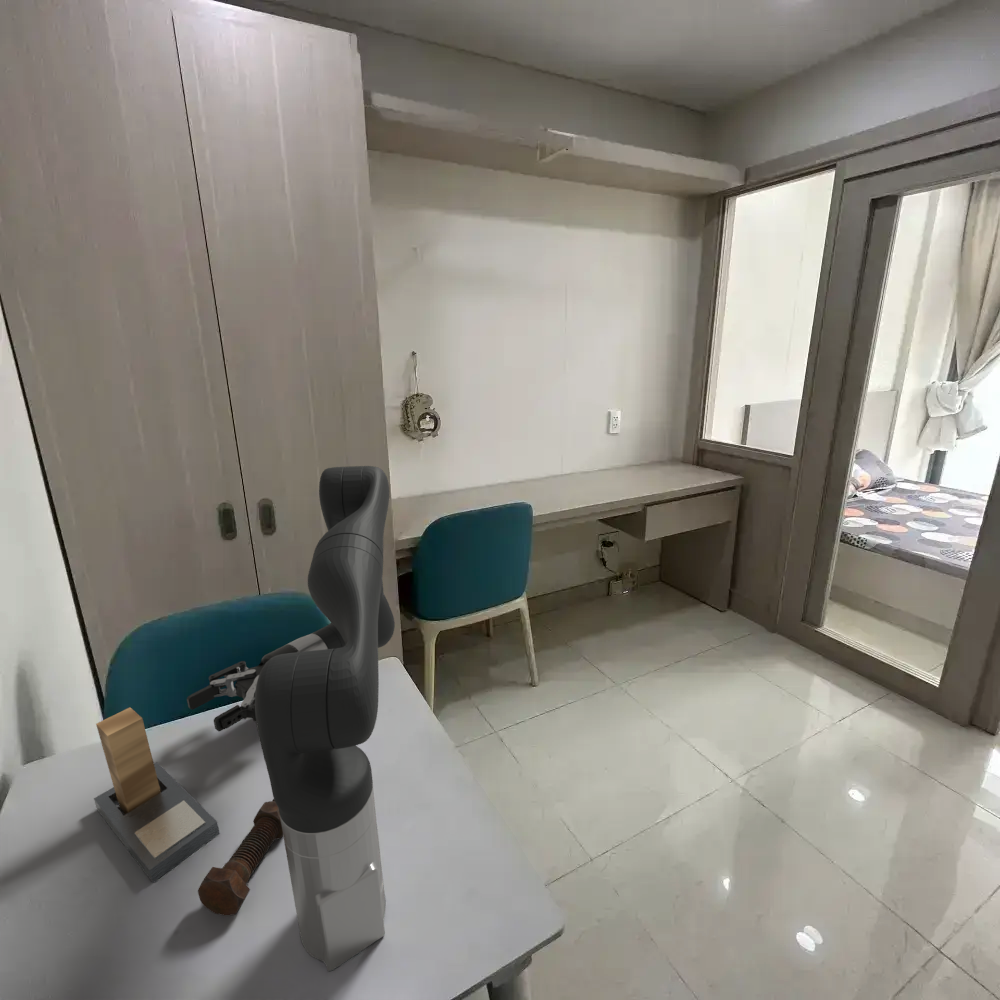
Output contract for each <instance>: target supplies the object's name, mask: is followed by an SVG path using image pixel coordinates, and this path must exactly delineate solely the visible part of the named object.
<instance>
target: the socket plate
mask: <svg viewBox="0 0 1000 1000" xmlns="http://www.w3.org/2000/svg"><path fill="white" fill-rule="evenodd" d="M154 767H155V771H156V775H157V779H158V783H159V787H160V791H161V793H160V794H158V795H156V796H155V797H153V798H151V799H150V800H148V801H147V802H145V803H143V804H142V805H140V806H139V807H137V808H135V809H134V810H132V811H131V812H129V813H127V814H124V813H123V812H122V811H121V810H120V809H119V808H118V805H119V803H118V800H117V796H116V793H115V789H114V786H113V787H111V788H110V789H108V790H106V791H104V792H103V793H101V794H99V795H97V796H96V797H94V798H93V801H94V804H95V808H96V810H97V812H98V813H99V814H100V816H101V817H102V818H103V820H104V821H105V822H106V823H107V825H108V826H109V827H110V829H111V830H112V831H113V833H114V834H115V835H116V837H117V838H118V839H119V840H120V842H121V843H122V845H123V846H124V847H125V848H126V850H127V851H128V852H129V854H130V855H131V856H132V858H133V859H134V860H135V862H136V863H137V864H138V865H139V867H140V868H141V869H142V871H143V872H144V873H145V875H146V876H147V877H148V878H149V879H150V882H151V883H155V882H156V881H158V879H160V878H162V877H163V876H164V875H166V874H167V873H168V872H170V871H171V870H172V869H174V868H175V867H177V866H178V865H179V864H181V863H182V862H183V861H184V860H186V859H187V858H188V857H190V856H191V855H193V854H194V853H195V852H196V851H198V850H199V849H201V848H202V847H203V846H205V845H206V844H207V843H210V841H212V840H213V839H214V838H215V837H217V836H218V835H220V834H221V833H220V828H219V824H218V820H216V819H215V818H214V817H213V816H212V815H211V814H210V813H209V812H208V811H207V810H206V809H205V808H204V807H203V806H202V805H201V804H200V803H199V802H198V801H197V800H196V799H195V798H194V797H193V796H192V795H191V794H190V793H189V792H188V791H187V790H186V789H185V788H184V787H183V786H182V785H181V784H180V783H179V782H178V781H177V780H176V779H174V777H173V776H172V775H171V774H170V773H169V772H168V771H167V770H166V769H165V768H164V767H163V766H162V765H161V764H159V762H158V761H156V762H155V763H154Z"/></svg>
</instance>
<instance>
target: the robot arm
mask: <svg viewBox="0 0 1000 1000" xmlns="http://www.w3.org/2000/svg"><path fill="white" fill-rule="evenodd" d="M318 496H319V497H318V498H319V505H320V510H321V513H322V517H323V519H324V524H325V525H326V528H327V531H326V532H325V533H324V534H323V536H322V537H321V538H320V539H319V540H318V542H317V544H316V546H315V548H314V551H313V555H312V558H311V562H310V567H309V571H308V573H307V574H308V575H307V589H308V591H309V595H310V597H311V599H312V600H313V602H314V604H315V605H316V607H317V608H318V609H319V610H320V612H321V613H322V614H323V615H324V616H325V617H326V619H328V621H329V622H330V623H329V624H327V625H326V626H323V627H322V628H319V629H318V630H316V631H314V632H312V633H310V634H307V635H304V636H301V637H299V638H296V639H295V640H293V641H290V642H289V643H287V644H285V645H283V646H280V647H278V648H276V649H275V650H273V651H271V652H269V653H267V654H265V655H264V656H262V658H261V661H260V663H259V664H258V665H257V666H254V667H253V666H252V667H250V668H249V667H247V664H246V663H247V662H246V660H241V661H238V662H236V663H234V664H233V665H231V666H228V667H225V668H224V669H221V670H219V671H217V672H215V673H213V674H210V675H209V676H208V680H209V685H207V686H205V687H204V688H201V689H199V690H197V691H195V692H193V693H191V694H190V695H188V696H187V697H186V703H187V707H188V708H189V709H190V710H195V709H197V708H199V707H201V706H202V705H205V704H207V703H209V702H210V701H213V700H214V699H215V698H218V697H223V696H228V697H229V698H230V697H231V698H233V697H239V698H242V699H243V700H242V702H241V704H240V705H238V704H237V705H234V706H233V707H231V708H229V709H228V710H225V711H224V712H222V713H220V714H218V715H216V716H215V717H214V719H213V725H214V729H215V730H216V731H218V732H222V731H223V730H226V729H228V728H230V727H232V726H233V725H235V724H238V723H239V722H240V721H242V720H246V721H247V720H249V719H253V720H252V721H253V722H255V723H256V730H257V734H258V738H259V743H260V747H261V751H262V755H263V759H264V762H265V766H266V769H267V773H268V778H269V782H270V788H271V792H272V797H273V799H274V800H275V803H276V805H277V806H278V808H279V813H280V819H281V824H282V830H283V836H282V837H283V841H284V842H283V843H284V847H285V853H286V859H287V865H288V871H289V877H290V882H291V888H292V889H291V890H292V895H293V901H294V906H295V912H296V916H297V917H296V918H297V923H298V929H299V934H300V940H301V943H302V945H303V947H304V949H305V950H306V952H307V953H308V954H309V955H310V956H312V957H313V958H314V959H316V960H319V961H321V962H323V963H324V964H325V965H326V969H327V971H328V972H331V971H333V970H334V969H337V967H340V966H341V965H342V964H344V963H345V962H347V961H349V960H350V959H351V958H352V957H354V956H356V955H358V954H359V953H360V952H362V951H363V950H364V949H367V947H369V946H371V945H372V944H374V943H375V942H377V941H378V940H380V939H381V938H383V937H384V936H385V934H386V930H385V921H384V919H385V915H386V895H385V884H384V876H383V868H382V867H383V866H382V859H381V849H380V839H379V831H378V830H379V829H378V823H377V813H376V802H375V800H376V799H375V793H374V784H373V783H374V782H373V772H372V766H371V761H370V760H369V759H370V758H369V757H368V756H367V754H366V752H365V751H363V749H362V748H360V747H359V745H361V744H364V743H365V742H366V741H368V740H369V739H370V737H371V736H372V734H373V731H374V729H375V726H376V722H377V720H378V719H377V717H378V712H379V711H378V710H379V684H380V683H379V680H380V679H379V648H382V647H384V646H385V645H387V644H388V643H389V642H390V641H391V639H392V637H393V635H394V632H395V625H396V623H395V617H394V614H393V611H392V609H391V606H390V604H389V601H388V599H387V597H386V595H385V593H384V583H383V575H384V574H383V573H384V572H383V571H384V532H385V525H386V521H387V516H388V511H389V503H390V483H389V480H388V477H387V474H386V473H385V471H384V470H383V469H382V468H380V467H379V466H374V465H356V466H355V465H352V466H333V467H326V468H325V469H324V470H323V471H322V473H321V476H320V477H319V485H318ZM223 677H224V678H223ZM234 683H235V684H234ZM225 687H226V688H225Z"/></svg>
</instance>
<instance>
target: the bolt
mask: <svg viewBox="0 0 1000 1000" xmlns="http://www.w3.org/2000/svg"><path fill="white" fill-rule="evenodd" d="M282 837H283V830H282V824H281V819H280V813H279V808H278V806H277V805H276V803H275V800H274V798H273V799H272V801H271V800H270V801H265V802H263V804H262V805H261V806H260V808H259V810H258V811H257V813H256V815H255V816H254V818H253V826H252V827H251V829H250V830H249V832H248V833H247V835H246V837H244V839H243V840H242V842H241V843H240V844H239V846H238V848H236V849H235V851H234V852H233V854H232V855H231V857H230V858H229V860H228V861H227V862H225V863H224V866H223V867H222V868H221V867H216V866H212V867H211V868H210V870H209V871H208V872H207V874H206V875H205V876H204V878H203V880H202V881H201V884H200V885H199V887H198V890H197V895H198V898H199V900H200V903H201V904H202V905H203V907H205V908H206V909H207V910H209V911H210V912H212V913H213V914H216V915H221V916H227V917H228V916H233V915H236V914H237V913H238V911H239V910H240V908H241V907H242V905H243V903H244V902H245V900H246V898H247V896H248V895H249V893H250V891H251V889H250V887H249V886H248V885H247V883H248V882H249V880H250V877H251V876H252V875H253V872H255V869H257V867H258V866H259V864H260V862H261V860H262V859H263V858H264V856H265V855H266V853H267V851H269V849H270V848H271V845H272V844H273V843H274V841H275V840H280V839H281V838H282Z"/></svg>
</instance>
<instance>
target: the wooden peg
mask: <svg viewBox="0 0 1000 1000" xmlns="http://www.w3.org/2000/svg"><path fill="white" fill-rule="evenodd" d="M143 719H144V718H143V717H142V716H141V715H139V714H138V713H137V712H136V711H135V710H134V709H133V708H131V707H127V708H125V709H123V710H122V711H120V712H118V713H116V714H114V715H111V716H109V717H107V718H105V719H103V720H101V721H99V722H97V723H95V725H96V730H97V733H98V736H99V739H100V743H101V745H102V750H103V753H104V757H105V760H106V763H107V768H108V771H109V774H110V778H111V781H112V785H113V787H114V789H115V793H116V796H117V800H118V803H119V804H118V807H119V808H120V809H121V810H122V811H121V812H122V813H123V814H124V815H126V814H127V813H129V812H131V811H132V810H134V809H135V808H137V807H139V806H140V805H142V804H143V803H145V802H147V801H148V800H150V799H151V798H153V797H155V796H156V795H158V794H160V793H161V792H162V790H161V789H160V787H159V783H158V779H157V775H156V771H155V767H154V764H155V763H154V759H153V756H152V751H151V748H150V744H149V739H148V736H147V731H146V728H145V724H144V720H143Z"/></svg>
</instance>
